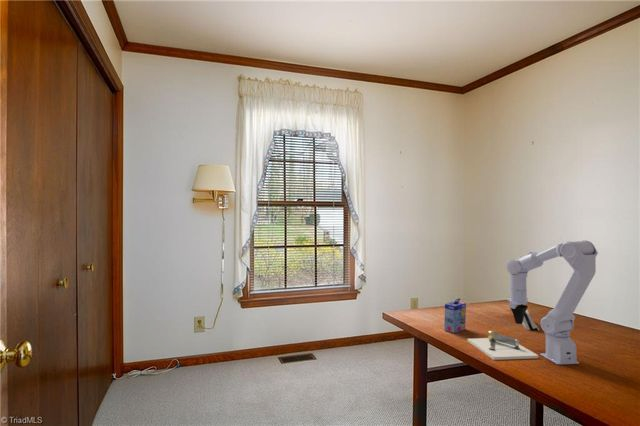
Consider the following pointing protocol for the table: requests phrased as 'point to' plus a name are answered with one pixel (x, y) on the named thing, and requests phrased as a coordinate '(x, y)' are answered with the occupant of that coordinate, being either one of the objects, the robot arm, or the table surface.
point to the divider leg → (502, 338)
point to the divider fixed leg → (492, 345)
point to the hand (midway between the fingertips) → (519, 323)
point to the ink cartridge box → (455, 316)
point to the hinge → (529, 322)
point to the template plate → (501, 350)
